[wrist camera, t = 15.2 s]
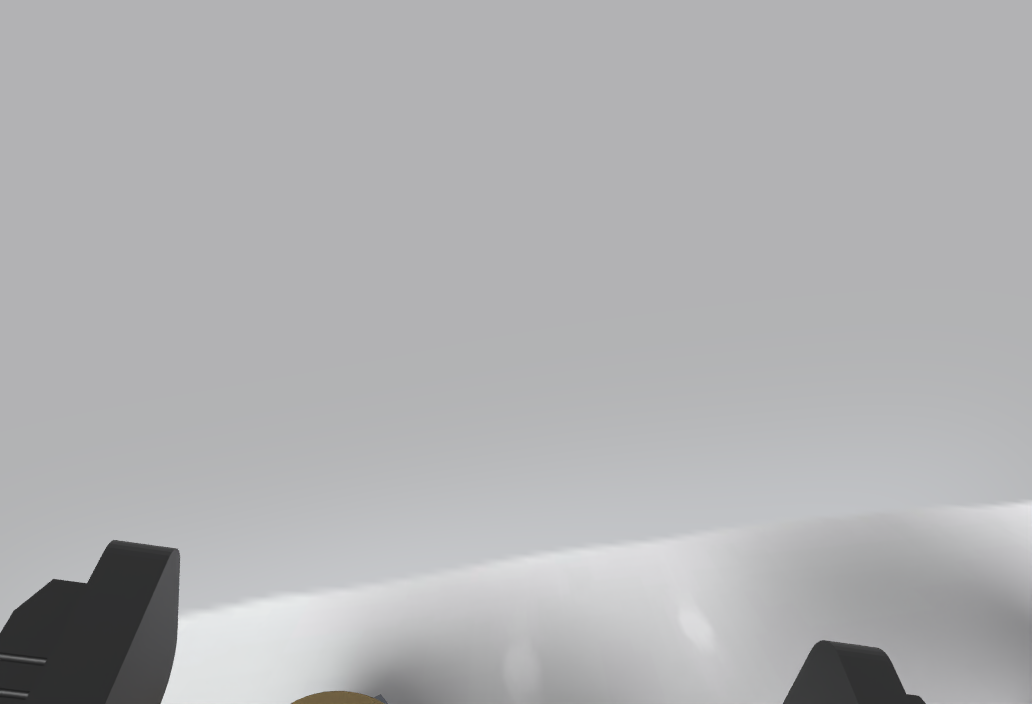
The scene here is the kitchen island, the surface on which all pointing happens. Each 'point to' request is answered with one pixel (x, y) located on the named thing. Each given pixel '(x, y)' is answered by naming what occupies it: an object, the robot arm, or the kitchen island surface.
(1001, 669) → the kitchen island surface
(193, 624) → the kitchen island surface
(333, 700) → the brass headed pin
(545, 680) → the kitchen island surface
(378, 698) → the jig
